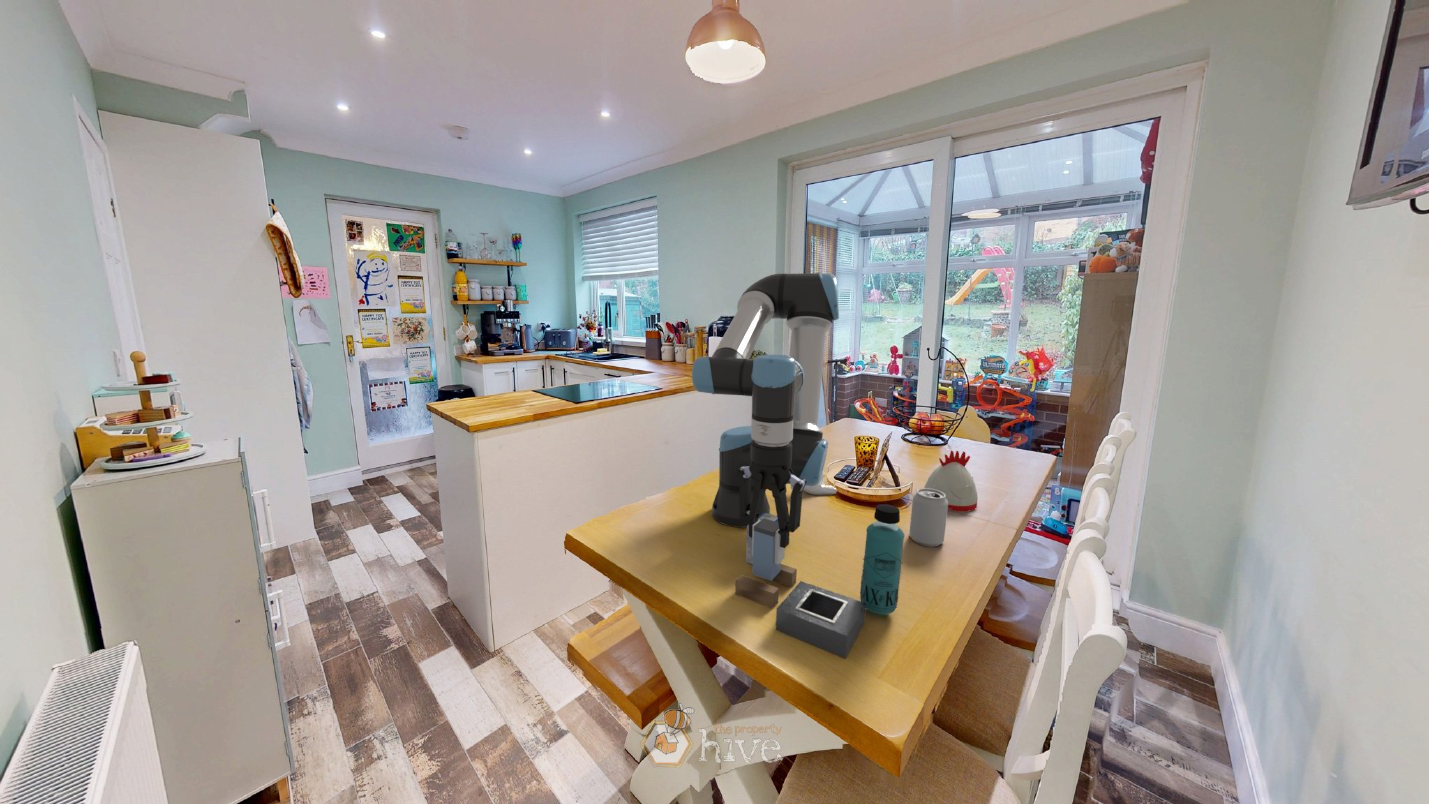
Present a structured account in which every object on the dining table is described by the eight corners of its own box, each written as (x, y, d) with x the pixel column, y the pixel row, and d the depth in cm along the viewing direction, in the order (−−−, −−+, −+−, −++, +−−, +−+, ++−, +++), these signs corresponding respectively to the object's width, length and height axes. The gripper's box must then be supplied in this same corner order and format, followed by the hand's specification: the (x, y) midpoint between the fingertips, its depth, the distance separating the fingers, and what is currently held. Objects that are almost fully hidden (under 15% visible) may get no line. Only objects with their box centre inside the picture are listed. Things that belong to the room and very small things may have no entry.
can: (947, 549, 108) (953, 500, 106) (912, 546, 110) (917, 497, 108) (939, 534, 116) (944, 487, 113) (906, 531, 117) (910, 485, 115)
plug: (752, 574, 92) (753, 526, 90) (762, 564, 95) (764, 518, 93) (771, 581, 90) (773, 532, 88) (780, 571, 93) (783, 523, 91)
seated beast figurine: (838, 494, 140) (840, 455, 138) (815, 499, 136) (818, 459, 134) (816, 484, 148) (818, 446, 146) (794, 489, 144) (796, 450, 142)
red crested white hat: (986, 512, 129) (993, 459, 126) (935, 511, 129) (941, 458, 126) (961, 492, 143) (967, 444, 140) (915, 491, 143) (919, 443, 140)
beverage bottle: (853, 601, 89) (861, 500, 85) (887, 599, 89) (897, 499, 86) (867, 624, 82) (876, 515, 79) (904, 622, 83) (915, 514, 79)
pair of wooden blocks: (735, 593, 91) (735, 579, 90) (760, 570, 99) (760, 557, 98) (773, 608, 86) (773, 593, 86) (795, 582, 95) (796, 568, 94)
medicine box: (764, 568, 100) (765, 530, 98) (745, 562, 102) (746, 524, 100) (779, 552, 106) (781, 516, 105) (761, 547, 109) (763, 511, 107)
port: (775, 629, 81) (776, 607, 80) (799, 600, 89) (800, 580, 88) (845, 658, 74) (847, 634, 73) (864, 624, 82) (866, 602, 82)
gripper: (720, 438, 88) (719, 552, 94) (807, 455, 79) (801, 581, 84) (741, 428, 95) (739, 536, 100) (824, 443, 85) (817, 561, 90)
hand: (767, 556), depth 92 cm, fingers closed on plug, 4 cm apart
